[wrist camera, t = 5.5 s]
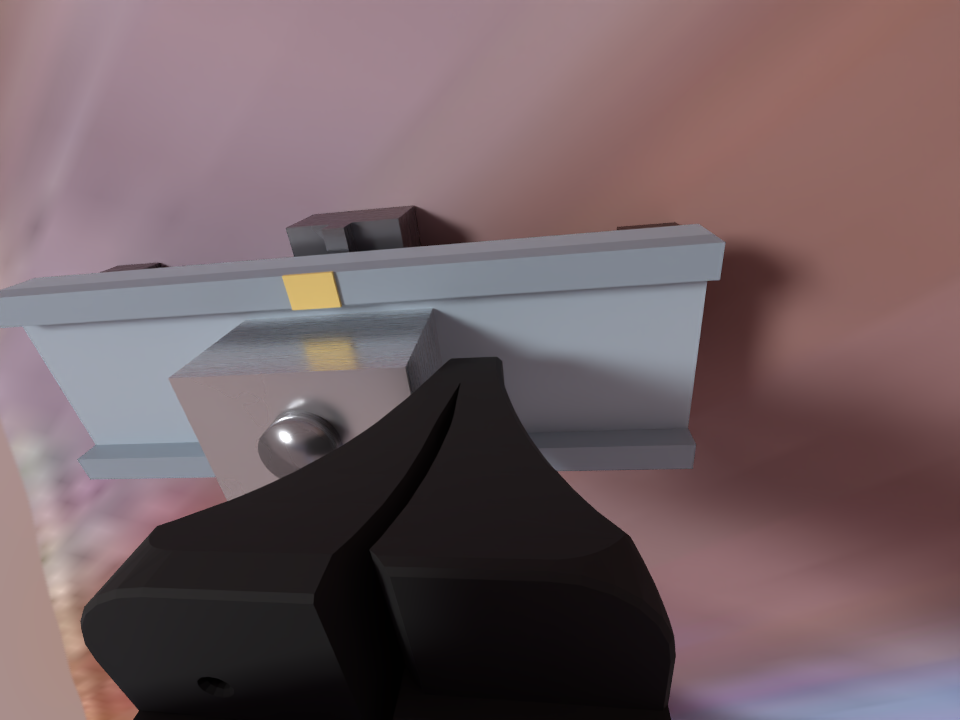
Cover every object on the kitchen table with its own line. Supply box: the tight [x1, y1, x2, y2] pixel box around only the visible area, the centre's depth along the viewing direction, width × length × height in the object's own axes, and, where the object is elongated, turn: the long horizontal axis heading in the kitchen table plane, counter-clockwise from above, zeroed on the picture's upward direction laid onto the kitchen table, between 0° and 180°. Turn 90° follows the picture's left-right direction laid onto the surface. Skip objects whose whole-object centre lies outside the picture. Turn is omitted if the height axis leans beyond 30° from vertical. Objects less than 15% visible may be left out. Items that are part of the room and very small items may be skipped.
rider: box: [168, 308, 442, 501], centre depth 11 cm, size 3×5×4 cm
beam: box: [0, 224, 725, 479], centre depth 13 cm, size 6×18×2 cm, turn 96°
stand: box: [100, 206, 678, 273], centre depth 15 cm, size 7×18×2 cm, turn 96°
